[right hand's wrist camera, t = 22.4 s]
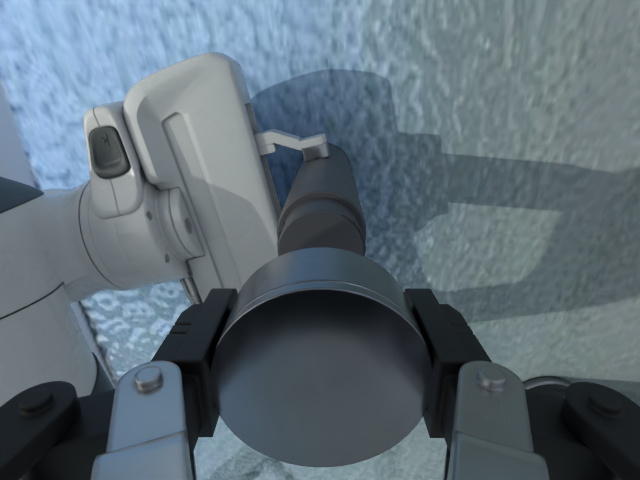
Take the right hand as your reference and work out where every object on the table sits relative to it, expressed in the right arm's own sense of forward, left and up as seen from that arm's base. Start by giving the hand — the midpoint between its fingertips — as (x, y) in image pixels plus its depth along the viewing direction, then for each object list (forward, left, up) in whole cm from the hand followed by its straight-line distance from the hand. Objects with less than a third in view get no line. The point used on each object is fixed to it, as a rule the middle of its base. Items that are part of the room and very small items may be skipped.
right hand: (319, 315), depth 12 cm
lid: (0, 0, +3) cm, 3 cm away
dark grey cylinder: (0, -1, -24) cm, 24 cm away
